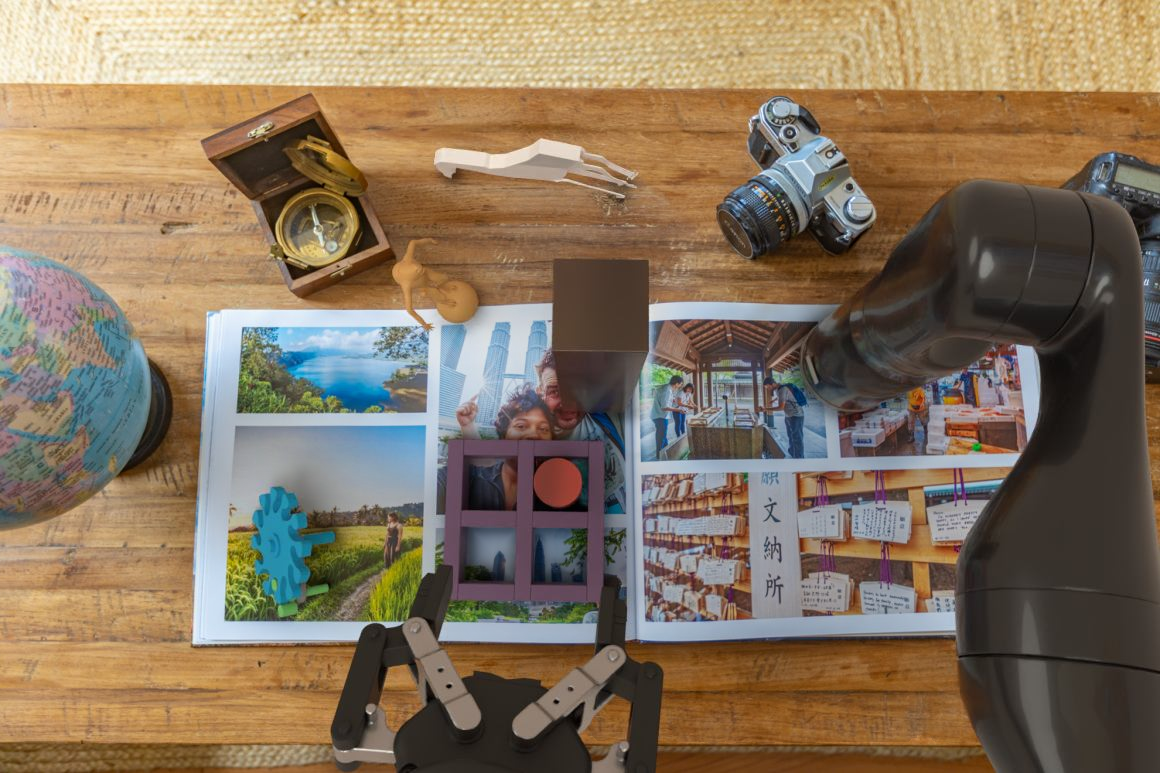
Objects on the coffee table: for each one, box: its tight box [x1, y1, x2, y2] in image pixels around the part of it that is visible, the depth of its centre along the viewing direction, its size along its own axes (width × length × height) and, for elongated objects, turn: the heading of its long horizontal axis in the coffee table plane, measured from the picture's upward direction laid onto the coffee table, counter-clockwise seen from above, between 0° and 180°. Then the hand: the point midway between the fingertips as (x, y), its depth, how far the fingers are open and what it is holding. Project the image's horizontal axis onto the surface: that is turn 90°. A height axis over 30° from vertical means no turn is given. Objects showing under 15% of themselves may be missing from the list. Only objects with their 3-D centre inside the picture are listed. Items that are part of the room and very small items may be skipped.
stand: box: [551, 257, 650, 414], centre depth 62 cm, size 6×6×26 cm
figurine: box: [391, 237, 480, 332], centre depth 70 cm, size 8×6×12 cm
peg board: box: [442, 438, 606, 603], centre depth 70 cm, size 14×14×4 cm
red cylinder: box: [534, 458, 583, 510], centre depth 69 cm, size 4×4×8 cm
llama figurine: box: [433, 137, 639, 199], centre depth 75 cm, size 2×11×18 cm
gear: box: [250, 485, 336, 618], centre depth 69 cm, size 11×6×10 cm
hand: (527, 585), depth 41 cm, fingers open, 8 cm apart
